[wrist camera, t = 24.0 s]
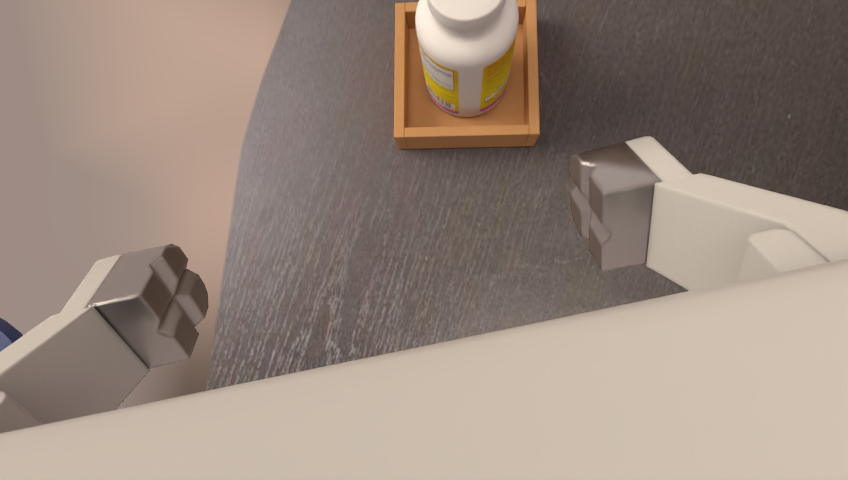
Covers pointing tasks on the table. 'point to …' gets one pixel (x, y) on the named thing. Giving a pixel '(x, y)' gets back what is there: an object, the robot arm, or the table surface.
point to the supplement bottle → (466, 51)
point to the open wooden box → (438, 129)
